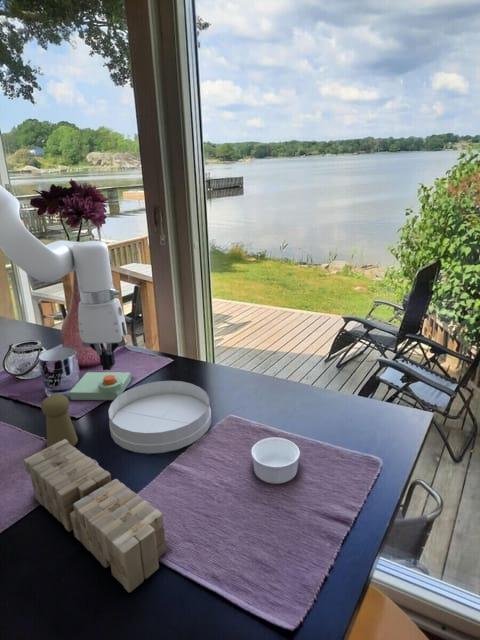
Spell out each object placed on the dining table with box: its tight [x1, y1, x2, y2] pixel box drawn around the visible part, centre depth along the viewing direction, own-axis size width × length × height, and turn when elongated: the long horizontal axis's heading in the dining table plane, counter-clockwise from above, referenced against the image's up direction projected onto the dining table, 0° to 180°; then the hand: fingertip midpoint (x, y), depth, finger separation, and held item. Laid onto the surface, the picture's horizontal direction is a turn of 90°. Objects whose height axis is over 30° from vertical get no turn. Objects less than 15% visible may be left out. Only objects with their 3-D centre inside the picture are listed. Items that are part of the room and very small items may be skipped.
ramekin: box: [250, 437, 301, 485], centre depth 81 cm, size 9×9×4 cm
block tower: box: [23, 439, 167, 593], centre depth 70 cm, size 8×8×29 cm
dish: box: [108, 380, 212, 454], centre depth 97 cm, size 22×22×5 cm
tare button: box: [103, 375, 116, 385], centre depth 109 cm, size 3×3×2 cm
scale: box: [69, 371, 132, 401], centre depth 112 cm, size 12×11×4 cm
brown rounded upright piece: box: [40, 393, 79, 448], centre depth 90 cm, size 6×6×11 cm
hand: (108, 367), depth 107 cm, fingers closed
